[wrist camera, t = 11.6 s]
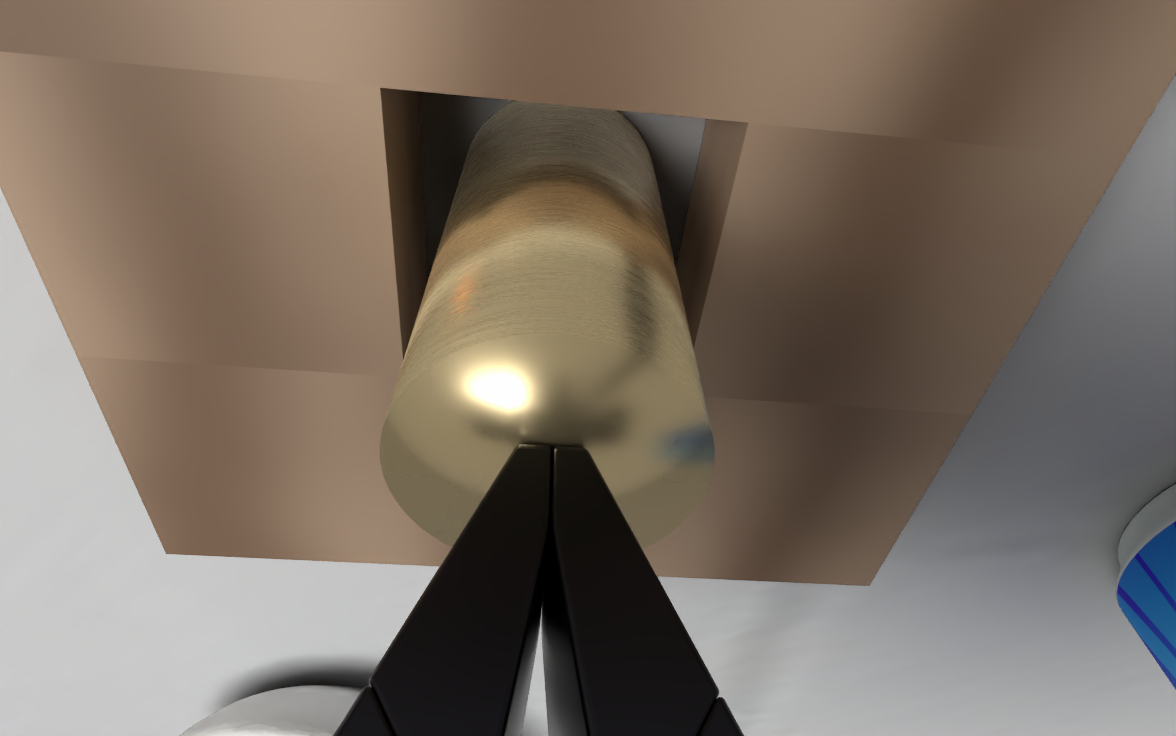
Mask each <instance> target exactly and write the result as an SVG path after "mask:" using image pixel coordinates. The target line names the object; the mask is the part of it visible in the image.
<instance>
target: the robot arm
mask: <svg viewBox="0 0 1176 736" xmlns="http://www.w3.org/2000/svg"><path fill="white" fill-rule="evenodd" d="M541 609H542V625H541V627H542V649H543V663H544V677H545V691H546V705H547V719H548V733H549V736H744V735H743V733H742V731H741V729H740V727H739V726H738V724H737V722H736V720H735V718H734V716H733V714H732V713H731V711H730V709H729V707H728V705H727V703H726V702H725V700H724V699H723V698H721V697H719V698H717V697H718V695H719V689H718V688H717V686H716V684H715V682H714V680H713V678H712V677H711V675H710V673H709V671H708V669H707V667H706V666H705V664H704V662H703V660H702V658H701V656H700V655H699V653H698V651H697V649H696V647H695V645H694V644H693V642H692V640H691V638H690V636H689V634H688V633H687V631H686V629H685V627H684V625H683V623H682V622H681V620H680V618H679V616H678V614H677V612H676V610H675V609H674V607H673V605H672V603H671V601H670V599H669V598H668V596H667V594H666V592H665V590H664V588H663V587H662V585H661V583H660V581H659V579H658V577H657V576H656V574H655V572H654V570H653V568H652V566H651V565H650V563H649V561H648V559H647V557H646V555H645V554H644V552H643V550H642V548H641V546H640V544H639V543H638V541H637V539H636V537H635V535H634V533H633V532H632V530H631V528H630V526H629V524H628V522H627V521H626V519H625V517H624V515H623V513H622V511H621V509H620V508H619V506H618V504H617V502H616V500H615V498H614V497H613V495H612V493H611V491H610V489H609V487H608V486H607V484H606V482H605V480H604V478H603V476H602V475H601V473H600V471H599V469H598V467H597V465H596V464H595V462H594V460H593V458H592V456H591V454H590V453H589V451H588V450H587V449H585V448H583V447H568V446H556V447H554V449H553V450H552V451H551V448H550V447H549V446H547V445H534V444H519V445H517V446H516V447H515V448H514V450H513V451H512V453H511V455H510V456H509V458H508V459H507V461H506V463H505V464H504V466H503V467H502V469H501V471H500V472H499V474H498V475H497V477H496V478H495V480H494V482H493V483H492V485H491V486H490V488H489V490H488V491H487V493H486V494H485V496H484V497H483V499H482V501H481V502H480V504H479V505H478V507H477V509H476V510H475V512H474V513H473V515H472V517H471V518H470V520H469V521H468V523H467V524H466V526H465V528H464V529H463V531H462V532H461V534H460V536H459V537H458V539H457V540H456V542H455V543H454V545H453V547H452V548H451V550H450V551H449V553H448V555H447V556H446V558H445V559H444V561H443V563H442V564H441V566H440V567H439V569H438V570H437V572H436V574H435V575H434V577H433V578H432V580H431V582H430V583H429V585H428V586H427V588H426V589H425V591H424V593H423V594H422V596H421V597H420V599H419V601H418V602H417V604H416V605H415V607H414V609H413V610H412V612H411V613H410V615H409V616H408V618H407V620H406V621H405V623H404V624H403V626H402V628H401V629H400V631H399V632H398V634H397V635H396V637H395V639H394V640H393V642H392V643H391V645H390V647H389V648H388V650H387V651H386V653H385V655H384V656H383V658H382V659H381V661H380V662H379V664H378V666H377V667H376V669H375V670H374V672H373V674H372V675H371V677H370V678H369V686H365V687H364V688H363V689H362V690H361V692H360V693H359V695H358V697H357V698H356V700H355V701H354V703H353V705H352V706H351V708H350V709H349V711H348V712H347V714H346V716H345V717H344V719H343V720H342V722H341V723H340V725H339V726H338V728H337V729H336V731H335V732H334V734H333V735H332V736H521V734H522V728H523V722H524V717H525V711H526V705H527V700H528V694H529V688H530V682H531V677H532V671H533V665H534V660H535V654H536V648H537V642H538V635H539V628H540V619H541Z"/></svg>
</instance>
